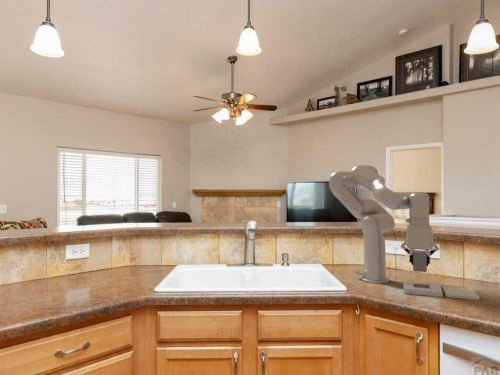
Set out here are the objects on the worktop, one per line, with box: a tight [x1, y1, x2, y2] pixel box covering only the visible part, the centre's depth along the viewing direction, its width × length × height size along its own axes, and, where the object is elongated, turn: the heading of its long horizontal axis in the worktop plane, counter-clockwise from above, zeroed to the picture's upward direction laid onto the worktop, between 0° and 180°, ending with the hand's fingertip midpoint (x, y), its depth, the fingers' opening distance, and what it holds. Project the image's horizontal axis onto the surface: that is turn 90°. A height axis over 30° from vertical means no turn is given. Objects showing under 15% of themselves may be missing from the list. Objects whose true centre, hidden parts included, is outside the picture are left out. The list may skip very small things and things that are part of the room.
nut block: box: [412, 249, 428, 273], centre depth 143 cm, size 5×5×8 cm
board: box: [442, 286, 480, 301], centre depth 137 cm, size 11×12×1 cm
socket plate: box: [402, 280, 443, 298], centre depth 143 cm, size 14×14×2 cm
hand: (419, 264), depth 143 cm, fingers closed on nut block, 5 cm apart
